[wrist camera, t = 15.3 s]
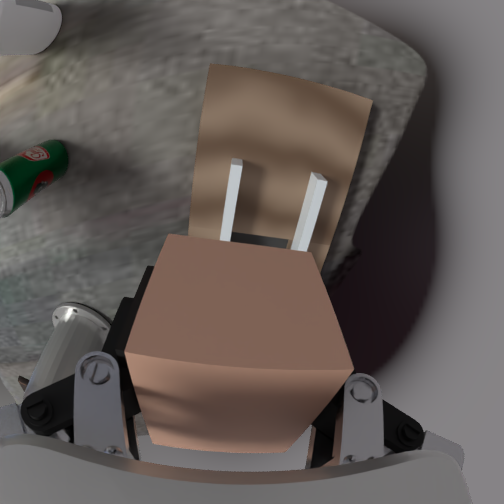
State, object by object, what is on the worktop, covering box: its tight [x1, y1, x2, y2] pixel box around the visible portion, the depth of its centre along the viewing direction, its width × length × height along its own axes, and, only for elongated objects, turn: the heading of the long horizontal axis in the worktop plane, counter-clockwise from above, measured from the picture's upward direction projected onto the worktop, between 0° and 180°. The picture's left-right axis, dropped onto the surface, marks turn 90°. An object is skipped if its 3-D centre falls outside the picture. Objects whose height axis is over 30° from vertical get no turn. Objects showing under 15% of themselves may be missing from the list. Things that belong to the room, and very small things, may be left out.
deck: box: [188, 64, 373, 273], centre depth 30 cm, size 26×16×2 cm, turn 170°
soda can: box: [0, 140, 68, 218], centre depth 21 cm, size 5×5×12 cm
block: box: [124, 234, 354, 453], centre depth 9 cm, size 6×5×5 cm
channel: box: [220, 158, 328, 252], centre depth 30 cm, size 17×9×2 cm, turn 170°
